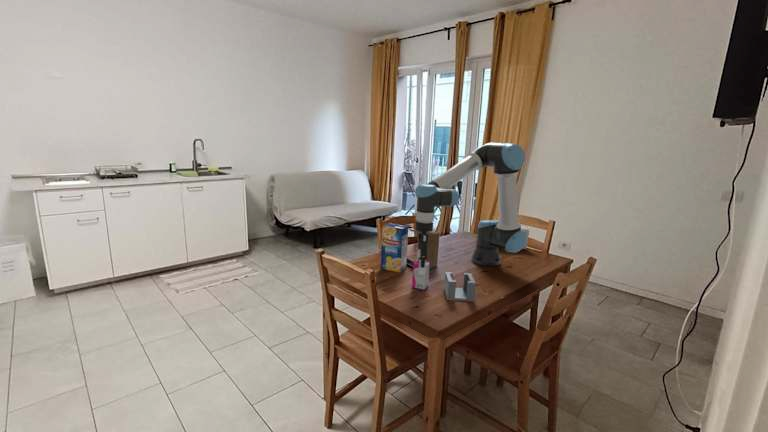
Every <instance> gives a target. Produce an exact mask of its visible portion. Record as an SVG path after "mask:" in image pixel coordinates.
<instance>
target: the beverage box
mask: <svg viewBox="0 0 768 432" xmlns="http://www.w3.org/2000/svg"><path fill="white" fill-rule="evenodd" d="M381 233H382V234H381V253H380V255H381V256H380V269H383V270H385V271H390V272H391V271H392V272H395V273H402V272H403V271H406V269H407V258H408V245H409V244H408V242H409V241H408V240H409V225H404V224H397V223H391V222H388V223H385V224H383V225H382V232H381Z"/></svg>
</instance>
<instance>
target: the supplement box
mask: <svg viewBox="0 0 768 432" xmlns="http://www.w3.org/2000/svg"><path fill="white" fill-rule="evenodd" d="M429 264H430V262H426V268H425V275H421V274H418V272H419V260H417V259H416V261H415V262H414V263H413V266H412V281H411V283H412V284H411V285H412V286H411V289H414V290H418V291H426V289H427V288H428V287H429V278H430V277H429V275H430V269H429Z"/></svg>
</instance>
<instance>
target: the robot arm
mask: <svg viewBox="0 0 768 432" xmlns="http://www.w3.org/2000/svg"><path fill="white" fill-rule="evenodd" d="M525 161H526V155H525V151H524V149H523V147H522V146H521V145H519V144H517V143H512V142H493V141H492V142H488V143H485V144H483V145H479V147H477V148H475V149H473V150H472V151H470V152H469V153H468V154H467V156H466V157H465V158H464V159H461V160H460V161H459V162H458V163H456V164H454V165H453V166H452V167H450V168H449V169H447V170H445V171H444V172H443V173H442V174H440V175H438V176H437V177H436V178H434V179H432V180H431V181H429V182H428V183H426V184H425V183H424V184H423V183H420V184H418V185H417V186H416V187H415V190H414V195H415V197H416V198H417V200H416V212H414V216H415V226H414V229H415V230H416V231H418V232H419V233H418V234H417V235H418V240H417V241H418V242H417V253H416V254H417V255H416V261H417V260H419V272H418V274H421V275H425V268H426V260H427V244H428V232H431V231H434V220H435V209H436V208H439V207H441V208H442V207H443V208H445V207H448V208H450V207H454V206H455V207H456V205H457V204H458V203H459V201H460V196H459V193H458V190H456V189H453V188H452V187H454V185H456V184H458V183H459V182H461V181H462V180H463V179H465V178H466V177H468V176H469V175H470V174H472V173H474V172H475V171H480V170H481V169H483V168H485V167H491V168H493V174H495V176H496V177H497V194H498V195H497V199H498V200H497V201H498V202H497V203H498V220H496V219H495V220H494V219H483V220H480V221H479V222H478V223H477V230H476V231H477V232H476V243H475V245H476V246H475V248H474V250H473V252H472V254H471V259H470V260H471V262H472V263H474V264H476V265H479V266H484V267H497V266H499V265H500V264H501V257H500V252H499V249H501V250H503V251H506V252H508V253H512V254H514V253H518V252H520V251H521V250H523V249H522V248H523V246H524V245H525V242H526V234H525V233H524V232H523V231H521V227H522V224H521V223H520V222H519V221H518V220H517V219H518V195H517V194H518V192H517V191H518V190H517V185H518V183H517V174H519V173H520V169H521V168H522V167H523V166H524V163H525ZM424 256H425V257H424Z"/></svg>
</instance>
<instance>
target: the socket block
mask: <svg viewBox="0 0 768 432" xmlns="http://www.w3.org/2000/svg"><path fill="white" fill-rule="evenodd" d="M453 274H454V273H453V271H445V272H444V283H443V284H444V285H443V290H444V295H445V296H446V297H445V298H446V300H447V301H460V302H461V301H462V302H475V299H476V298H475V297H476V287H477V282H476V281H475V279H474V276H473V275H472V273H471V272H463V277H462V278H463V279H462V287H456V286H457V281H456V280H455V279H454V280H453V278H454V277H453Z"/></svg>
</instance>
